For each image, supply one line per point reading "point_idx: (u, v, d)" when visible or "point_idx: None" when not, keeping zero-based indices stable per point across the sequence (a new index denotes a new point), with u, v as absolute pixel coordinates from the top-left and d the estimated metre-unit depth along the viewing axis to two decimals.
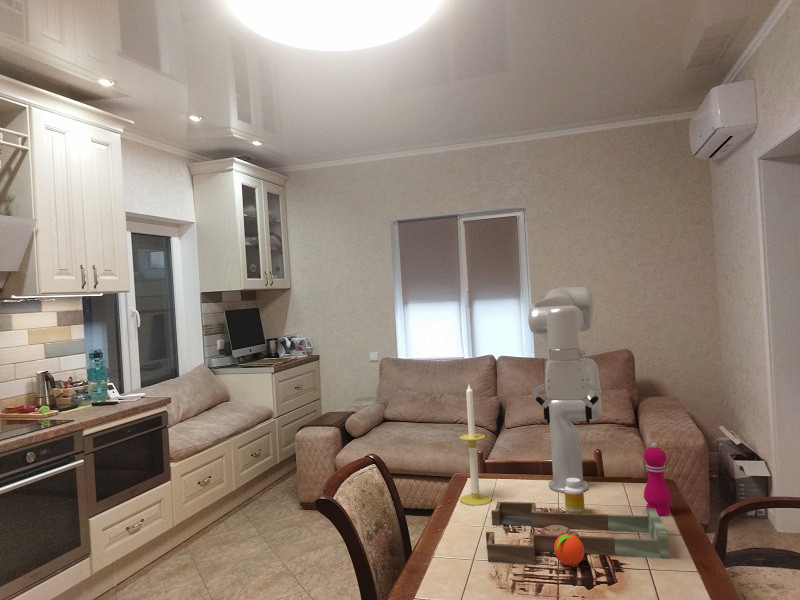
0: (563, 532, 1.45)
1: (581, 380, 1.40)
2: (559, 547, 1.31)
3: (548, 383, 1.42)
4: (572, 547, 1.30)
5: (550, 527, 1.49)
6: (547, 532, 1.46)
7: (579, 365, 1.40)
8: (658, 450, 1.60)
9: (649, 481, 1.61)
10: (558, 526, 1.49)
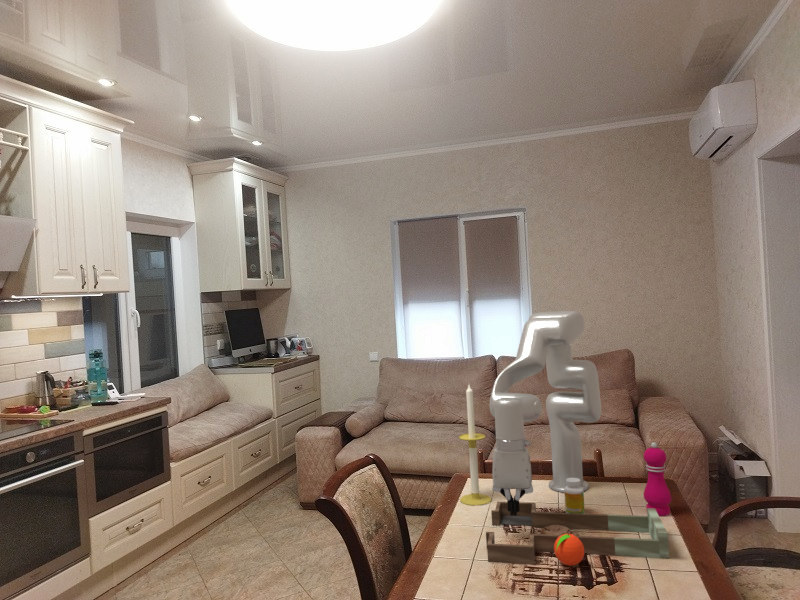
0: (563, 532, 1.45)
1: (525, 470, 1.47)
2: (559, 547, 1.31)
3: (494, 472, 1.49)
4: (572, 547, 1.30)
5: (550, 527, 1.49)
6: (547, 532, 1.46)
7: (523, 456, 1.47)
8: (658, 450, 1.60)
9: (649, 481, 1.61)
10: (558, 526, 1.49)
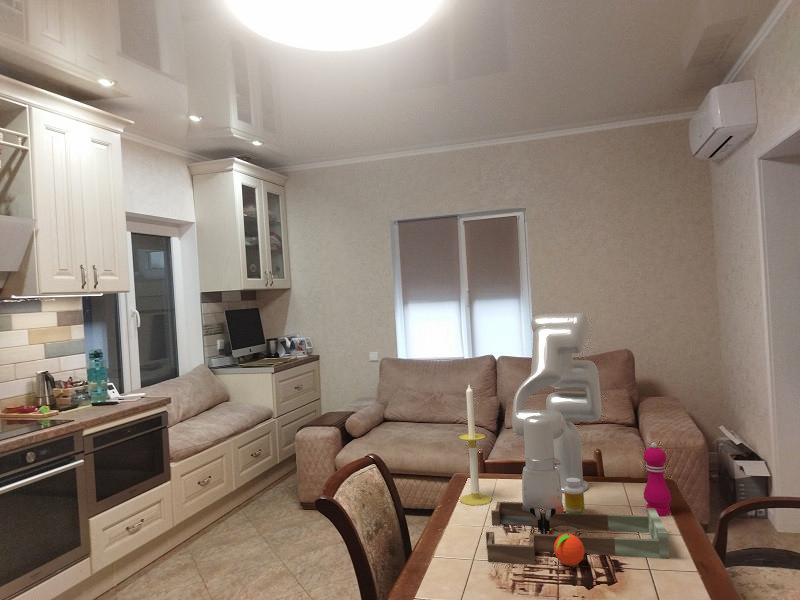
0: (572, 533, 1.44)
1: (556, 490, 1.45)
2: (559, 547, 1.31)
3: (524, 491, 1.47)
4: (572, 547, 1.30)
5: (559, 528, 1.48)
6: (555, 533, 1.46)
7: (554, 475, 1.45)
8: (658, 450, 1.60)
9: (649, 481, 1.61)
10: (567, 527, 1.48)
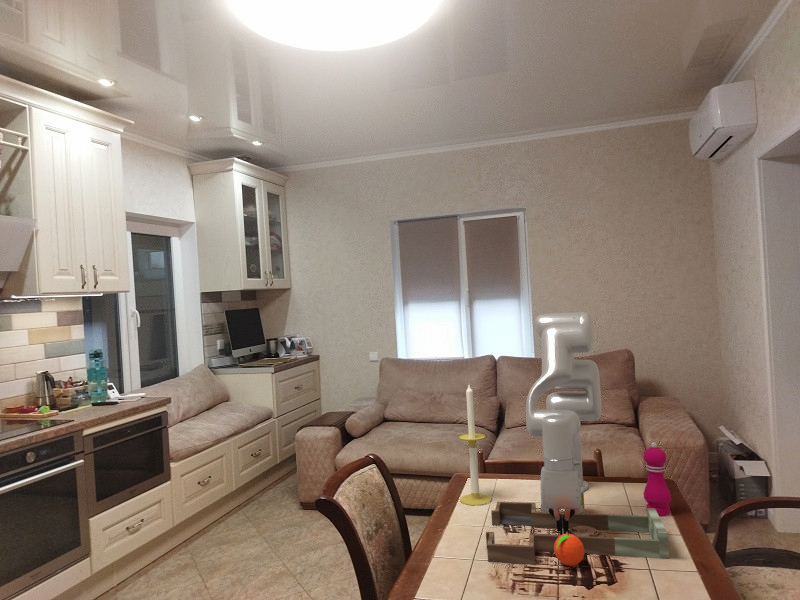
0: (590, 533, 1.43)
1: (575, 490, 1.43)
2: (559, 547, 1.31)
3: (543, 491, 1.46)
4: (572, 547, 1.30)
5: (577, 528, 1.47)
6: (574, 533, 1.45)
7: (573, 475, 1.44)
8: (658, 450, 1.60)
9: (649, 481, 1.61)
10: (586, 527, 1.47)
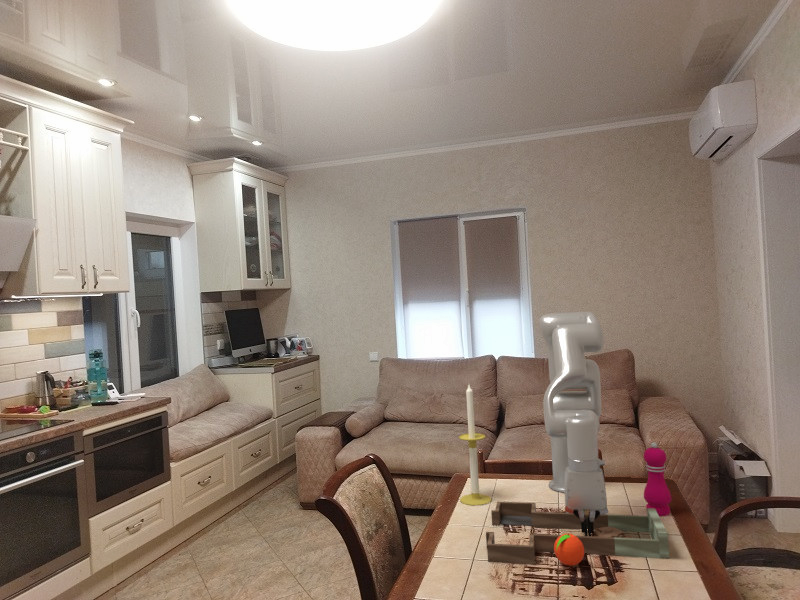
0: (613, 535, 1.42)
1: (601, 491, 1.42)
2: (559, 547, 1.31)
3: (568, 492, 1.44)
4: (572, 547, 1.30)
5: (603, 528, 1.46)
6: (597, 533, 1.44)
7: (598, 476, 1.42)
8: (658, 450, 1.60)
9: (649, 481, 1.61)
10: (612, 528, 1.46)
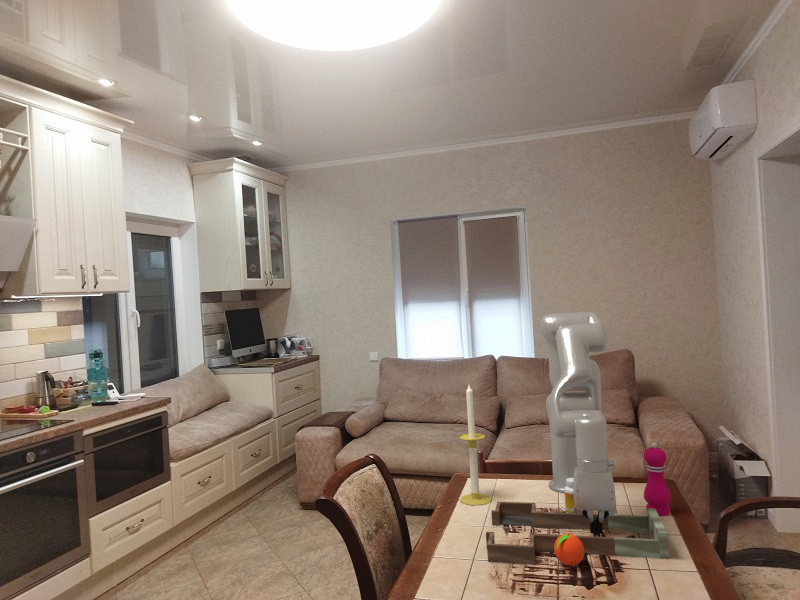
0: (622, 536, 1.40)
1: (610, 491, 1.42)
2: (559, 547, 1.31)
3: (577, 493, 1.44)
4: (572, 547, 1.30)
5: (613, 530, 1.45)
6: (606, 534, 1.43)
7: (608, 476, 1.42)
8: (658, 450, 1.60)
9: (649, 481, 1.61)
10: (622, 530, 1.44)
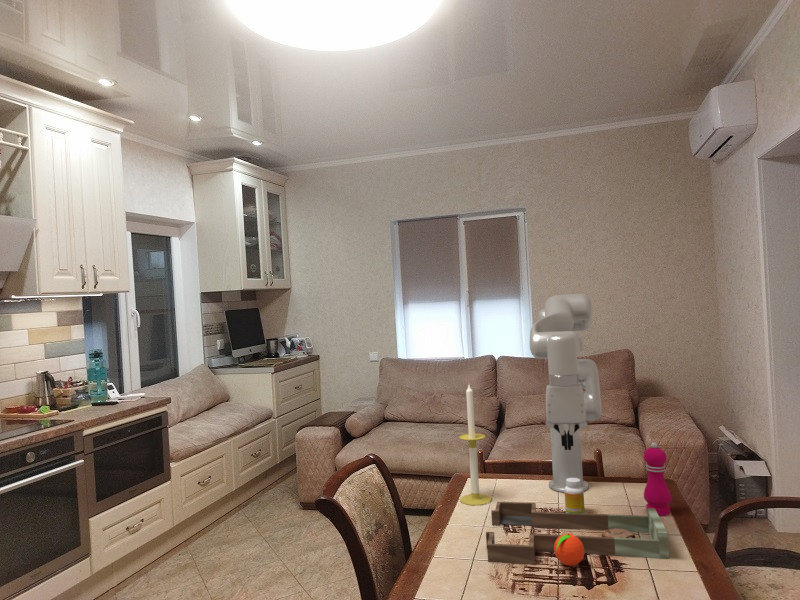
0: (622, 536, 1.40)
1: (580, 405, 1.47)
2: (559, 547, 1.31)
3: (548, 407, 1.49)
4: (572, 547, 1.30)
5: (613, 530, 1.45)
6: (606, 534, 1.43)
7: (578, 390, 1.47)
8: (658, 450, 1.60)
9: (649, 481, 1.61)
10: (622, 530, 1.44)
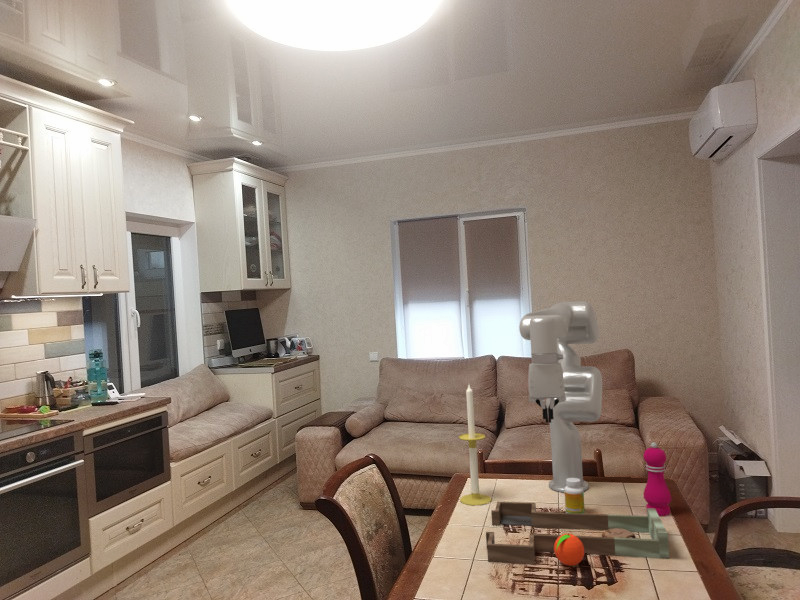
0: (622, 536, 1.40)
1: (559, 380, 1.61)
2: (559, 547, 1.31)
3: (531, 383, 1.63)
4: (572, 547, 1.30)
5: (613, 530, 1.45)
6: (607, 534, 1.43)
7: (557, 367, 1.61)
8: (658, 450, 1.60)
9: (649, 481, 1.61)
10: (622, 530, 1.44)
